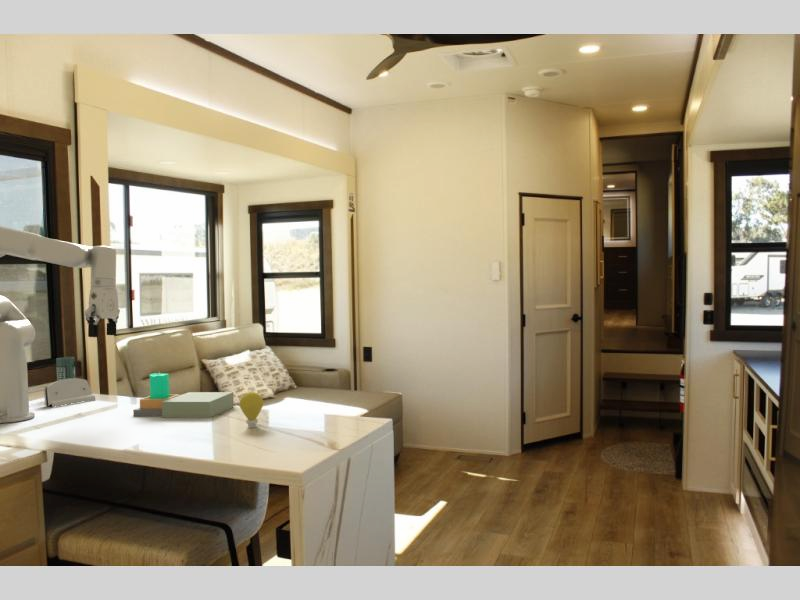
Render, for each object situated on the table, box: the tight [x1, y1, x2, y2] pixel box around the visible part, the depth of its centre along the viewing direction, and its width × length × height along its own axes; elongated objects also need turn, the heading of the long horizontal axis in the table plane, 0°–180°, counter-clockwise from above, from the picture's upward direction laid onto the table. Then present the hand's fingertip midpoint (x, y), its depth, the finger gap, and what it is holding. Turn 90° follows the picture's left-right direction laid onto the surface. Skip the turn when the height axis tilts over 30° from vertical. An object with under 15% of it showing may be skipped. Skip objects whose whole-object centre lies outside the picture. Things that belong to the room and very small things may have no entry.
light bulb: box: [239, 391, 264, 429], centre depth 190 cm, size 7×7×10 cm
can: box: [55, 356, 76, 381], centre depth 254 cm, size 6×6×15 cm
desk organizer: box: [133, 391, 234, 419], centre depth 216 cm, size 18×27×5 cm, turn 81°
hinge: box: [43, 377, 96, 408], centre depth 239 cm, size 17×5×10 cm, turn 147°
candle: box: [149, 372, 170, 399], centre depth 217 cm, size 6×6×12 cm
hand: (102, 336), depth 215 cm, fingers open, 9 cm apart
